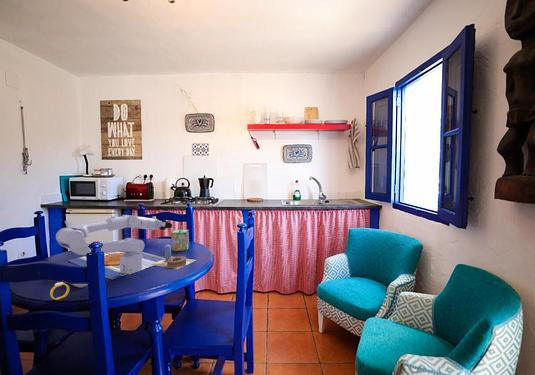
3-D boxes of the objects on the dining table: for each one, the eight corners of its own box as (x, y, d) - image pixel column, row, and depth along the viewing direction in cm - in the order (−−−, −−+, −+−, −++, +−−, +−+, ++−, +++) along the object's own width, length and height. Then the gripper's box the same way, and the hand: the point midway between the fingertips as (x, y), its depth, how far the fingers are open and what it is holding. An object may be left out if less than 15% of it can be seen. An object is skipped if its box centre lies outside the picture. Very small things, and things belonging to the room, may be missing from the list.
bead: (177, 268, 132) (177, 263, 132) (163, 265, 136) (163, 260, 136) (189, 262, 140) (189, 257, 140) (176, 260, 144) (176, 255, 144)
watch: (53, 302, 101) (51, 287, 100) (50, 301, 102) (47, 286, 102) (71, 295, 106) (69, 280, 105) (67, 293, 108) (65, 279, 107)
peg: (168, 261, 142) (167, 246, 141) (163, 261, 143) (163, 246, 142) (172, 259, 144) (172, 245, 144) (168, 259, 146) (167, 244, 145)
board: (177, 270, 131) (177, 269, 131) (150, 265, 138) (150, 264, 138) (196, 261, 143) (196, 260, 143) (171, 257, 151) (171, 256, 151)
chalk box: (174, 247, 170) (173, 224, 169) (189, 246, 171) (188, 223, 170) (171, 252, 161) (170, 227, 160) (186, 251, 162) (185, 226, 161)
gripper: (156, 215, 134) (176, 218, 146) (137, 215, 141) (158, 218, 153) (154, 229, 133) (175, 231, 144) (135, 229, 139) (157, 231, 151)
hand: (166, 225), depth 148 cm, fingers open, 7 cm apart
